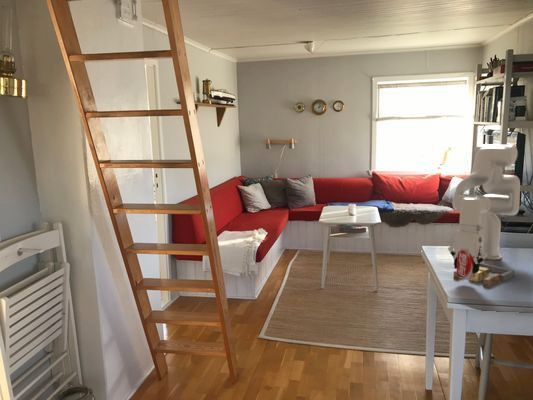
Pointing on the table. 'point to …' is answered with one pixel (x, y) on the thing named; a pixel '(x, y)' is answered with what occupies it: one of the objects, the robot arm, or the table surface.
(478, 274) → the tan wooden cube
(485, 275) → the wooden cube
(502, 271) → the grey u-shaped frame
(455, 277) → the slot rails
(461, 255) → the soda can
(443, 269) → the table surface
